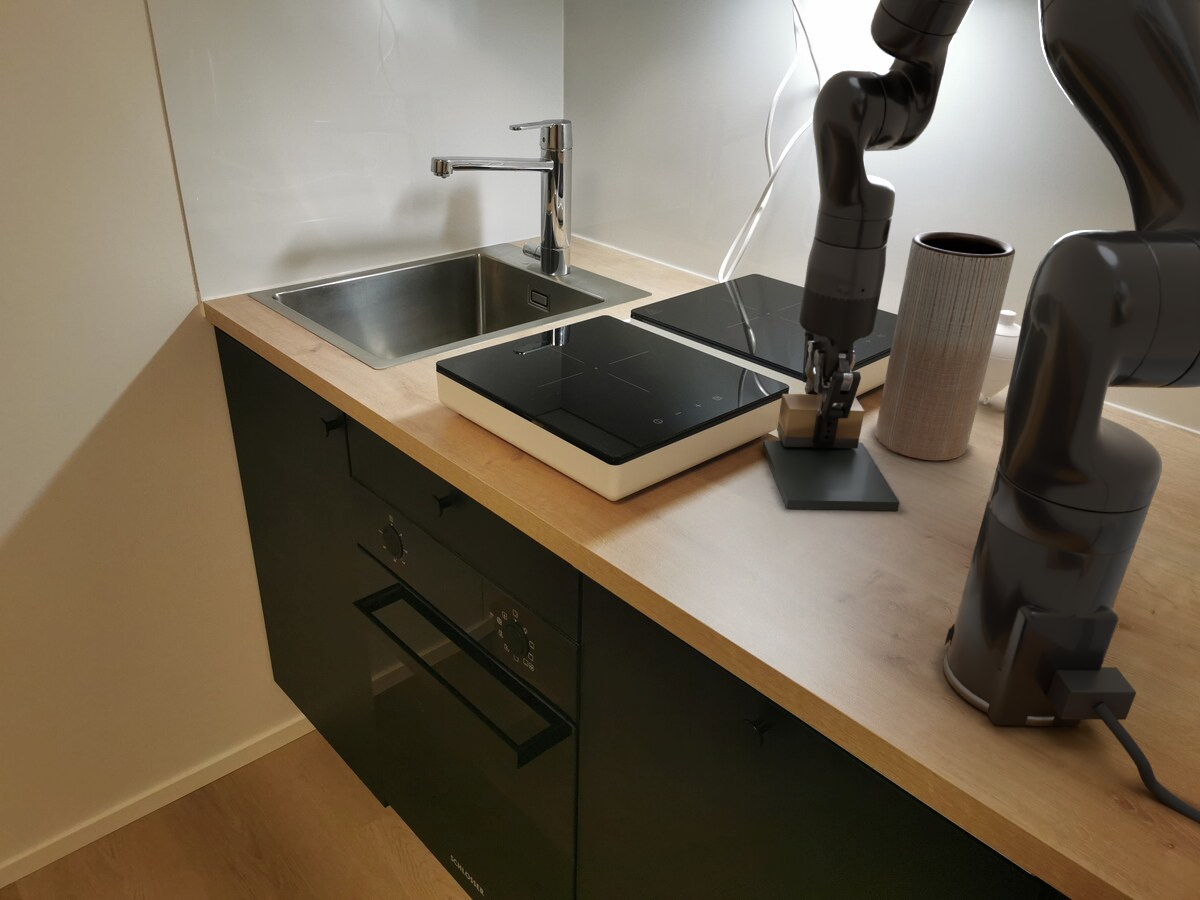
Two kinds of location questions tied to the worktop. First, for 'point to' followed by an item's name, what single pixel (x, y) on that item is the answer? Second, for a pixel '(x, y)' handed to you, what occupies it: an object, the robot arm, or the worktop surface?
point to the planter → (942, 342)
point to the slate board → (829, 478)
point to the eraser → (801, 421)
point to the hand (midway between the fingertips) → (817, 435)
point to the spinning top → (1001, 355)
